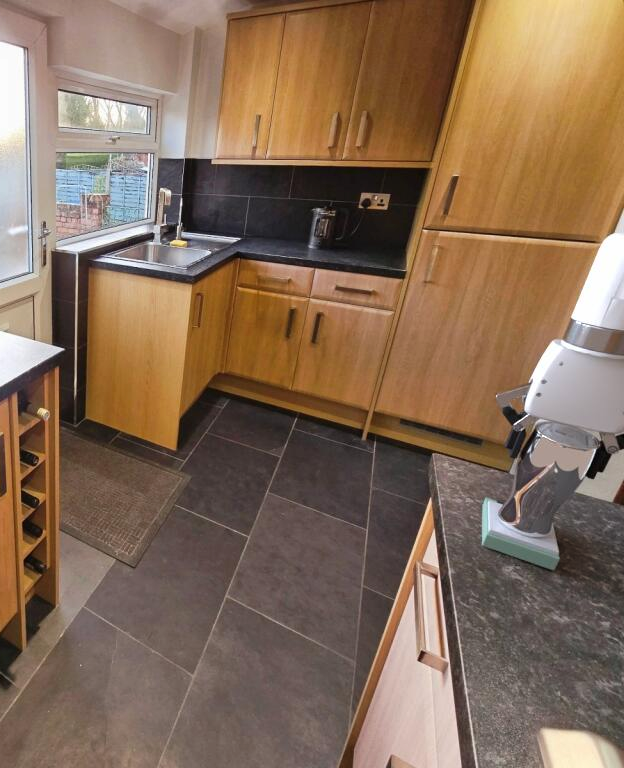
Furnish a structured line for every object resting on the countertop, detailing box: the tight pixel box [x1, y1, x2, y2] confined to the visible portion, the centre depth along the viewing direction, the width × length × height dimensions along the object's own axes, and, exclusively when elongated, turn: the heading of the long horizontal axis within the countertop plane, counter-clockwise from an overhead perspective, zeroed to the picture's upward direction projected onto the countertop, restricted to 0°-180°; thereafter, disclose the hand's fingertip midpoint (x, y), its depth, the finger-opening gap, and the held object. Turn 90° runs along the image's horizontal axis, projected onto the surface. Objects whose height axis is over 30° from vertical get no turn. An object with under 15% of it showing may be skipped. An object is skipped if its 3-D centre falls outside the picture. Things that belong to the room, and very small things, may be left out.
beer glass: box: [497, 420, 601, 538], centre depth 67 cm, size 7×7×15 cm
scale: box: [481, 497, 561, 571], centre depth 72 cm, size 11×8×3 cm
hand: (549, 463), depth 67 cm, fingers open, 7 cm apart
